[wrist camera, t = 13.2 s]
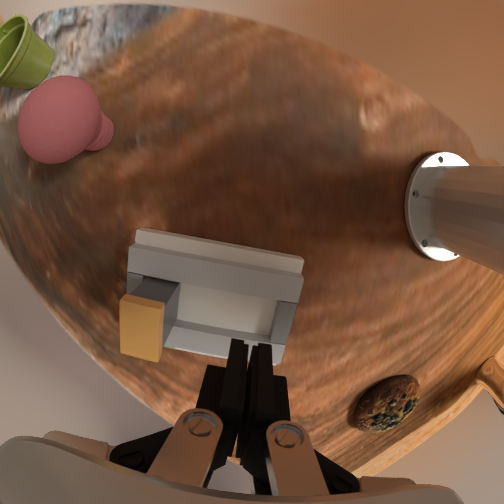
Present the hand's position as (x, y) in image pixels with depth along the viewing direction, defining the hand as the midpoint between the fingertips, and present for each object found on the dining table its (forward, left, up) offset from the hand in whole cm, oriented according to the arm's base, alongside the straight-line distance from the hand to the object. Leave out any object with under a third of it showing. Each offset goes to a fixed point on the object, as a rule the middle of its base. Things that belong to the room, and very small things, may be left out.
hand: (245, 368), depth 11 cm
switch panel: (+3, +4, -17) cm, 17 cm away
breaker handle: (+7, +4, -15) cm, 17 cm away
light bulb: (+17, -11, -17) cm, 26 cm away
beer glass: (-47, +13, -17) cm, 52 cm away
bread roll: (-24, +17, -17) cm, 34 cm away
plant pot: (+31, -20, -17) cm, 40 cm away
